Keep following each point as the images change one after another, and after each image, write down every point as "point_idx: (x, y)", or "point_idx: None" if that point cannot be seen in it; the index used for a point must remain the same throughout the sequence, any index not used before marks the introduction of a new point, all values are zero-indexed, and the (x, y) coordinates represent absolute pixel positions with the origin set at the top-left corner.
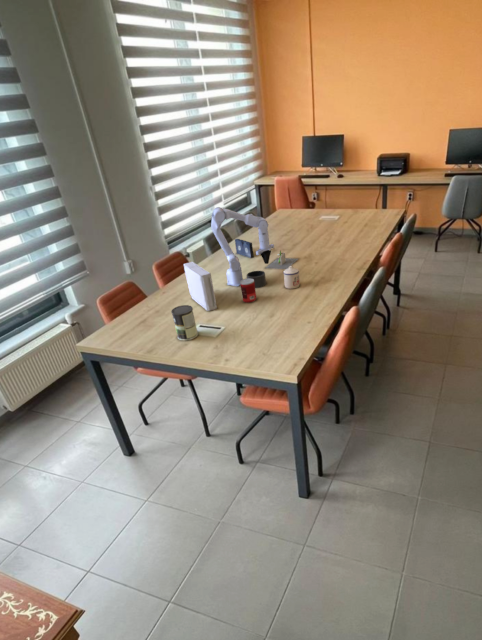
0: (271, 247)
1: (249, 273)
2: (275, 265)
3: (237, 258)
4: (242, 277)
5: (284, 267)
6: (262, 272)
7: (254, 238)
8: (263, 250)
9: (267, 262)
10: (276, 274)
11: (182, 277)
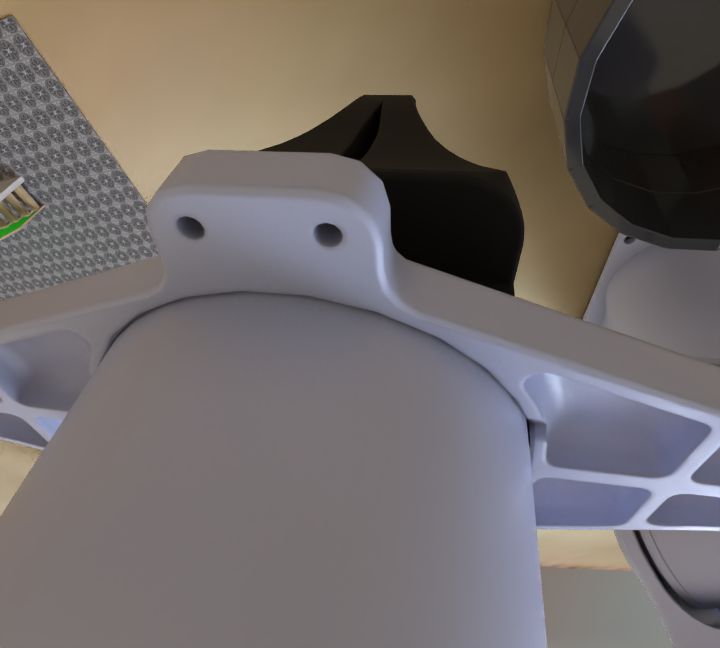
0: (27, 294)
1: (695, 232)
2: (80, 227)
3: (687, 550)
4: (674, 283)
5: (16, 92)
6: (595, 46)
7: (7, 503)
8: (639, 370)
9: (403, 99)
10: (228, 16)
11: (580, 558)
